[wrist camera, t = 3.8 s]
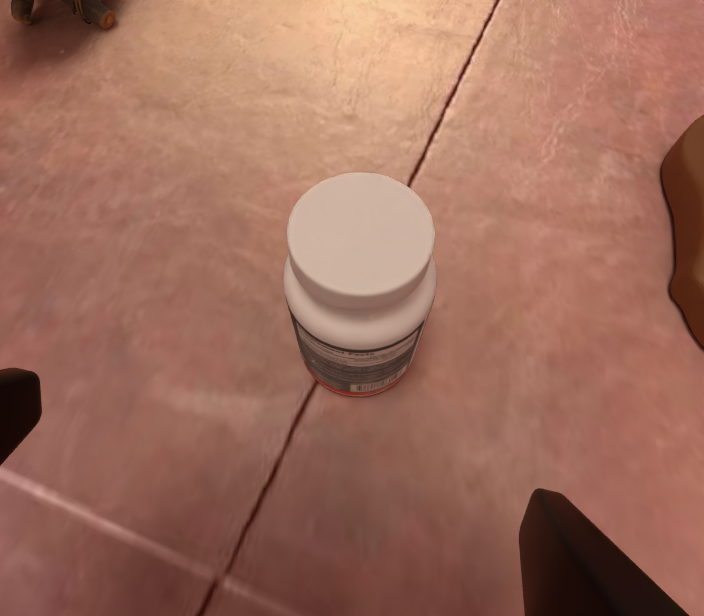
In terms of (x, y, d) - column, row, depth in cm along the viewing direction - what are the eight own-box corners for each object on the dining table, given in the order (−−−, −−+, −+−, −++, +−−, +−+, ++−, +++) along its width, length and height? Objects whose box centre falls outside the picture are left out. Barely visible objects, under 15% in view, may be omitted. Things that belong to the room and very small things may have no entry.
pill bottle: (329, 278, 25) (319, 137, 16) (429, 316, 24) (477, 188, 15) (280, 372, 23) (237, 268, 14) (389, 419, 22) (416, 338, 13)
